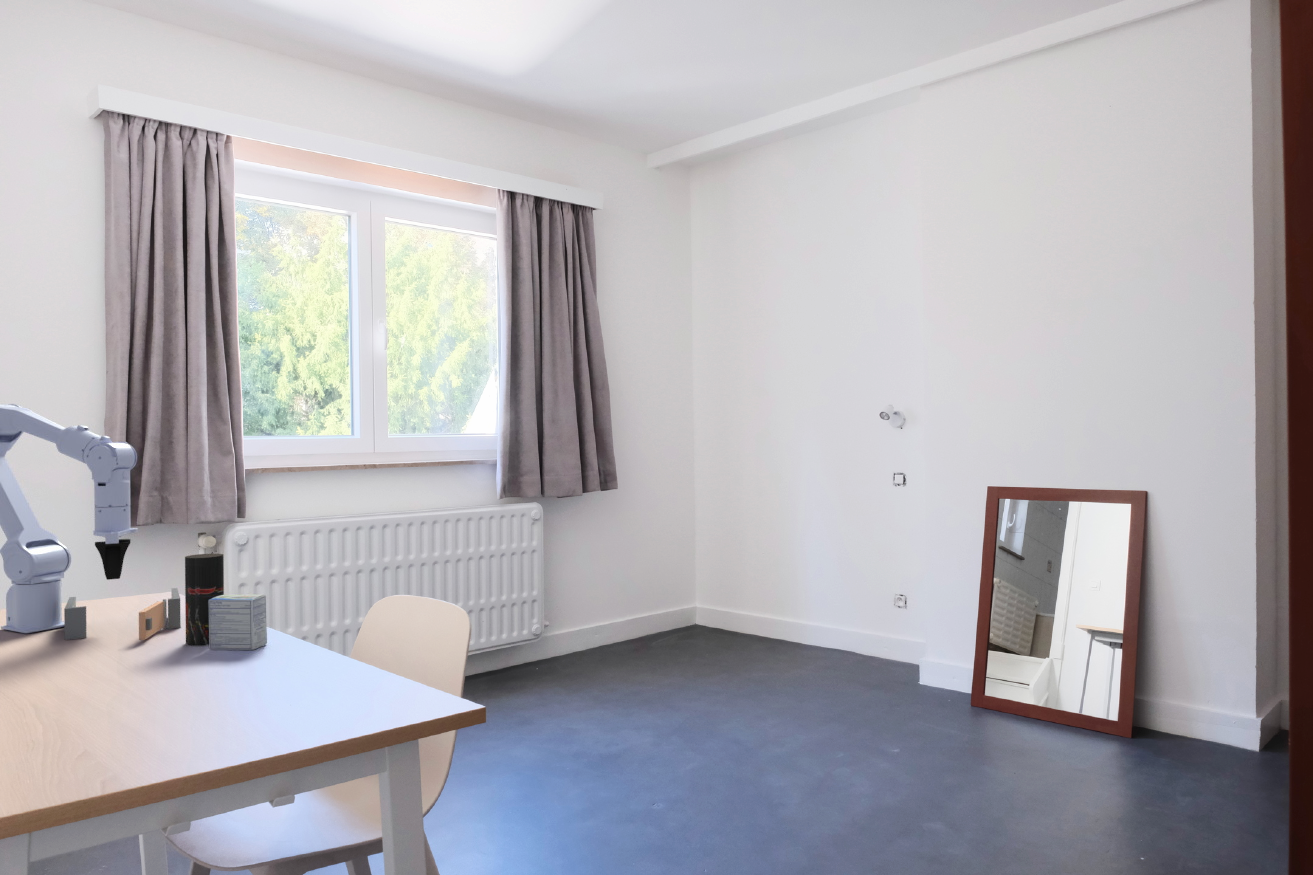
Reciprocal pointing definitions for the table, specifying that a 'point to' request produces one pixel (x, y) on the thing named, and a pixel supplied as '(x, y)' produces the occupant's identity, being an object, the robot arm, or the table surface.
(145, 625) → the door
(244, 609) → the medicine box
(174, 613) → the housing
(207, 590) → the deodorant
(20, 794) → the table surface
